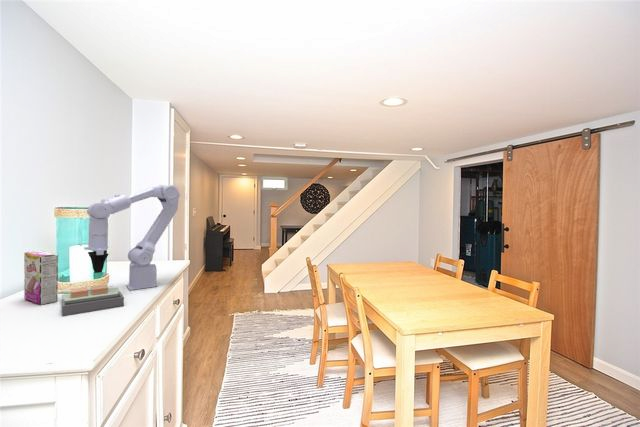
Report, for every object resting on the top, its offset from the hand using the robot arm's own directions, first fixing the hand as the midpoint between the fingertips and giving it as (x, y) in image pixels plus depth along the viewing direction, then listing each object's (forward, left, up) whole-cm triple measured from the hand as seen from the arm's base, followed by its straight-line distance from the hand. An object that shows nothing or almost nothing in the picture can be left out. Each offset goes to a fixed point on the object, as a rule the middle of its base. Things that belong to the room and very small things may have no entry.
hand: (97, 271), depth 109 cm
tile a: (0, +7, -6) cm, 9 cm away
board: (+2, +7, -8) cm, 11 cm away
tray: (+2, +16, -8) cm, 18 cm away
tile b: (+6, +7, -6) cm, 11 cm away
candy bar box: (+15, -1, -9) cm, 18 cm away
